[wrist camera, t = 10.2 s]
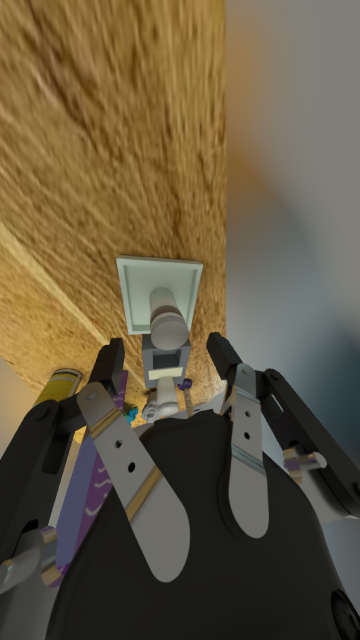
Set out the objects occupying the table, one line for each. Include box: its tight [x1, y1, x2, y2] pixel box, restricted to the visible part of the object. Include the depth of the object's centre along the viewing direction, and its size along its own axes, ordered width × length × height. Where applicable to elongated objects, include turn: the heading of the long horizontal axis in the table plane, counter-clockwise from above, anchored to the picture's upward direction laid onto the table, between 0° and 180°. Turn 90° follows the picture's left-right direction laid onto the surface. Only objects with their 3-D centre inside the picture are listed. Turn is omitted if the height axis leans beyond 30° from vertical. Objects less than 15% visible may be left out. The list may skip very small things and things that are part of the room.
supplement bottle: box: [32, 369, 82, 408], centre depth 23 cm, size 5×5×8 cm
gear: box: [122, 407, 138, 426], centre depth 37 cm, size 11×6×10 cm
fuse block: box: [142, 333, 191, 416], centre depth 24 cm, size 12×8×10 cm, turn 174°
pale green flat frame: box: [116, 255, 203, 334], centre depth 19 cm, size 11×10×2 cm
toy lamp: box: [177, 379, 194, 418], centre depth 30 cm, size 5×5×17 cm
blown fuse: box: [149, 287, 189, 350], centre depth 16 cm, size 4×4×8 cm
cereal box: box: [55, 370, 128, 575], centre depth 22 cm, size 17×5×24 cm, turn 154°
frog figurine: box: [141, 391, 161, 423], centre depth 34 cm, size 6×7×7 cm
